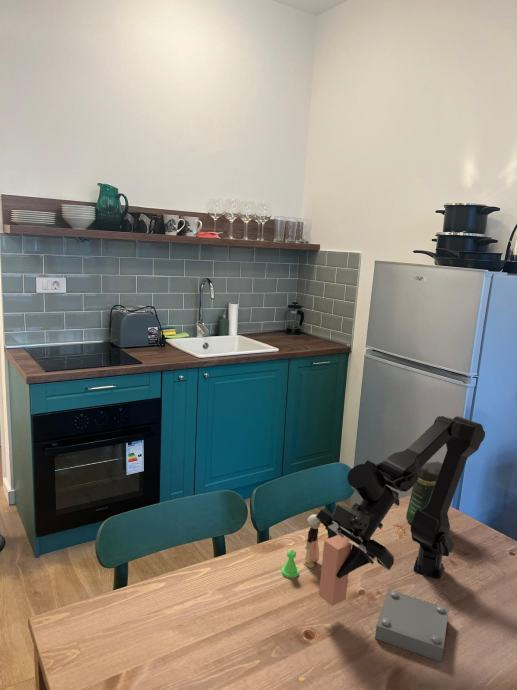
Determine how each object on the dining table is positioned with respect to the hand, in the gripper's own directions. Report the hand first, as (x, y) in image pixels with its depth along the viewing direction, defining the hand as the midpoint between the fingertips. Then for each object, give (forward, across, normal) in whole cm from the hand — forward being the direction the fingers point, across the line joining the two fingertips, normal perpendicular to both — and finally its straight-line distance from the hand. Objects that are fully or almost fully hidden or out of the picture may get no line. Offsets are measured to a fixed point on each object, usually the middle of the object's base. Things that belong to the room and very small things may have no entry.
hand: (330, 571), depth 112 cm
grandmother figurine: (0, -17, +16) cm, 23 cm away
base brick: (-2, +12, +18) cm, 21 cm away
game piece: (+6, -16, +10) cm, 20 cm away
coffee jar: (-29, -15, +46) cm, 56 cm away
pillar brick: (+4, 0, +6) cm, 7 cm away
